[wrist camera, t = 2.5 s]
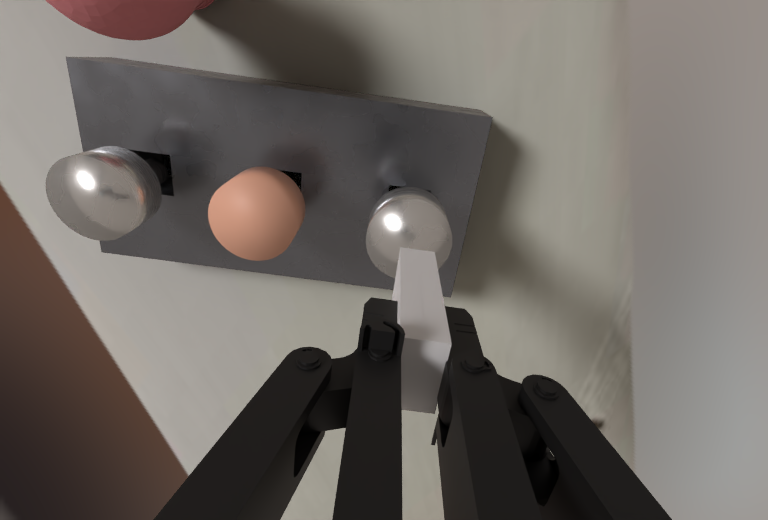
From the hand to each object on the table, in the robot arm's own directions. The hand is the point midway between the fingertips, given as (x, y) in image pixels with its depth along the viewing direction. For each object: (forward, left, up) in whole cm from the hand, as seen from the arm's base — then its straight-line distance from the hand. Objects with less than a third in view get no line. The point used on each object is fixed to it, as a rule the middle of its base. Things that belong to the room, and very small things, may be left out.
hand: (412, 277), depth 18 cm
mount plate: (0, -8, -13) cm, 15 cm away
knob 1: (0, -16, -9) cm, 19 cm away
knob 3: (0, 0, -9) cm, 9 cm away
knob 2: (0, -8, -9) cm, 12 cm away
